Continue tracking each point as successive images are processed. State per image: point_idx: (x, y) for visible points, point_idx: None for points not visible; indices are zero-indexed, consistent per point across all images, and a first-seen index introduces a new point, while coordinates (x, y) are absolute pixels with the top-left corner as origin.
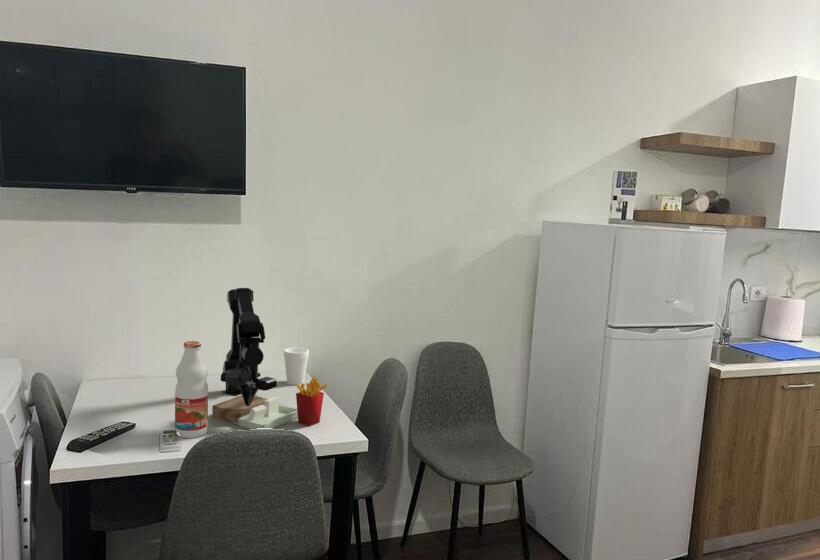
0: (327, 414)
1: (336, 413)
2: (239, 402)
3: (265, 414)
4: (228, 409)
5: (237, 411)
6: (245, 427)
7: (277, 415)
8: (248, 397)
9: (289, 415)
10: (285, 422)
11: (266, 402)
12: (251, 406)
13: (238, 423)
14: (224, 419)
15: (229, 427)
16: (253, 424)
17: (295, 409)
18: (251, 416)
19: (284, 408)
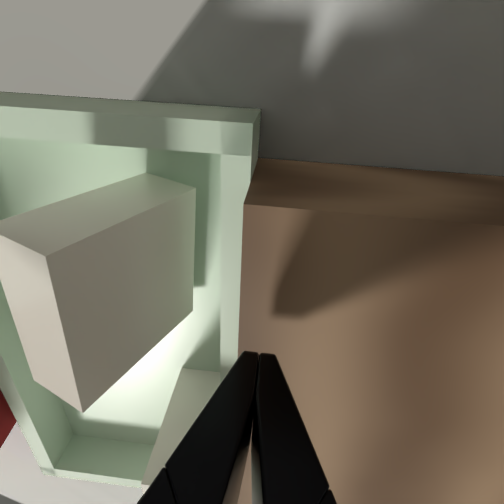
0: (18, 478)
1: (5, 493)
2: (457, 435)
3: (206, 378)
4: (480, 226)
5: (317, 221)
6: (156, 104)
7: (153, 398)
8: (176, 465)
9: (9, 393)
10: None
11: None
12: None
13: (246, 114)
14: (477, 178)
15: (314, 28)
16: (19, 102)
17: (75, 467)
18: (103, 204)
19: None
